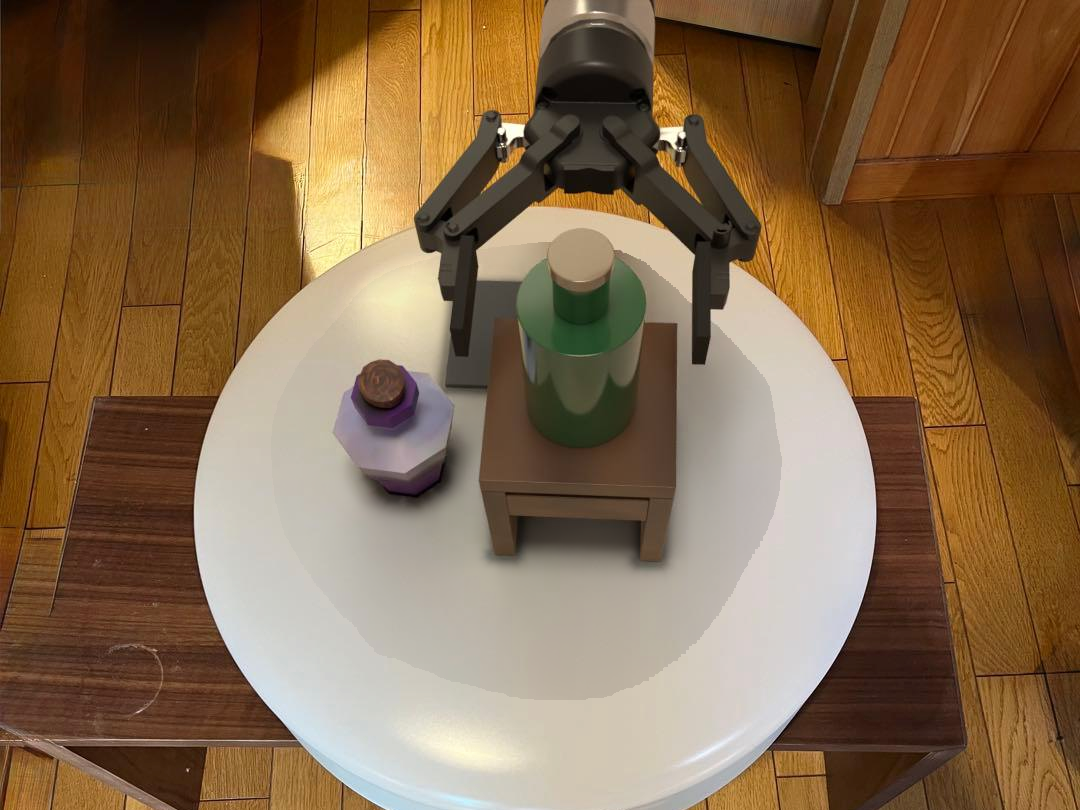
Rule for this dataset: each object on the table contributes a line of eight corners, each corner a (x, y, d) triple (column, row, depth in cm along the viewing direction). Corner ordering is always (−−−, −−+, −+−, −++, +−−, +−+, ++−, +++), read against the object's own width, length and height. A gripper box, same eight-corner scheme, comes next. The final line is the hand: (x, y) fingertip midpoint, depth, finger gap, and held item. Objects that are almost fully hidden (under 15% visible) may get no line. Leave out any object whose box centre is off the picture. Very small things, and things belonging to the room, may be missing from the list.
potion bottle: (345, 429, 75) (304, 339, 64) (454, 405, 75) (432, 310, 64) (363, 528, 71) (323, 451, 60) (477, 502, 72) (458, 420, 61)
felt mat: (578, 286, 79) (578, 282, 79) (573, 391, 75) (572, 388, 75) (457, 282, 80) (457, 279, 79) (445, 386, 76) (444, 384, 75)
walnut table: (663, 416, 74) (677, 322, 63) (661, 561, 69) (676, 488, 58) (507, 411, 75) (494, 317, 64) (494, 554, 70) (478, 480, 59)
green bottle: (643, 360, 62) (659, 208, 49) (628, 455, 59) (640, 320, 47) (536, 346, 63) (525, 192, 50) (516, 440, 60) (498, 303, 47)
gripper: (779, 120, 65) (790, 390, 57) (414, 114, 67) (373, 376, 59) (803, 22, 58) (819, 313, 50) (395, 17, 60) (345, 299, 52)
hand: (579, 347), depth 54 cm, fingers open, 13 cm apart
